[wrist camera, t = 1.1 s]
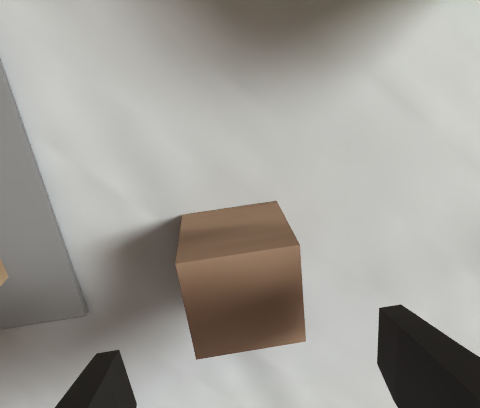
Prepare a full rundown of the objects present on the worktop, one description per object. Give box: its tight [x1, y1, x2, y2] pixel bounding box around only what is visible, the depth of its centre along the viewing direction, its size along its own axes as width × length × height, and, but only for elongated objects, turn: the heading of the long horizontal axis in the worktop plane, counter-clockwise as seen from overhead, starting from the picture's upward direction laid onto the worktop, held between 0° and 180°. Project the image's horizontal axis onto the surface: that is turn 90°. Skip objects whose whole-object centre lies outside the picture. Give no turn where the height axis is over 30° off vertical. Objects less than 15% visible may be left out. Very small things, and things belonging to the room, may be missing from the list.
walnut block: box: [175, 201, 306, 359], centre depth 14 cm, size 4×4×4 cm
